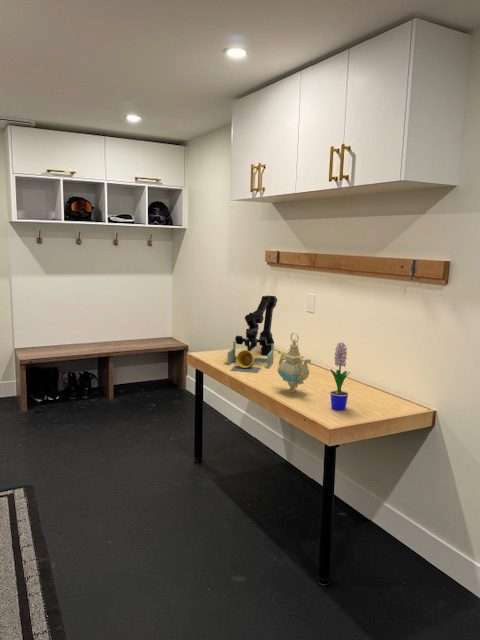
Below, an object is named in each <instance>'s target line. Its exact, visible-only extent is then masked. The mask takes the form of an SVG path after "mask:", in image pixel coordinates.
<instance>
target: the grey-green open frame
mask: <svg viewBox="0 0 480 640" xmlns="http://www.w3.org/2000/svg"><path fill="white" fill-rule="evenodd" d="M232 343H233V344H232V346H233V347H232V348H231V349H230V350H228V352H227V366H231V365H232V364H233V363H234V362H235V361H236V362H237V355H236V340H234V341H232ZM274 346H275V343H274V344H272V345H271V351H270V353H269V354H268V355H266V356H267V358H265V357H254V363H263V364H264V363H266V364H267V365H266V369H270V368H271V367H272V365H273V364H274V348H275V347H274ZM247 360H248V361H249V359H247Z"/></svg>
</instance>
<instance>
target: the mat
mask: <svg viewBox="0 0 480 640" xmlns="http://www.w3.org/2000/svg"><path fill="white" fill-rule="evenodd" d="M261 369H262V367H258V366H257V367H256V366H251V367H249V368H242V367H240V366H239V365H234V366H233V367H232V368H231V369H230V372H238V371H239V372H241V373H251V374H252V373H254V374H258V373H259V372H260V371H261Z"/></svg>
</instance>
